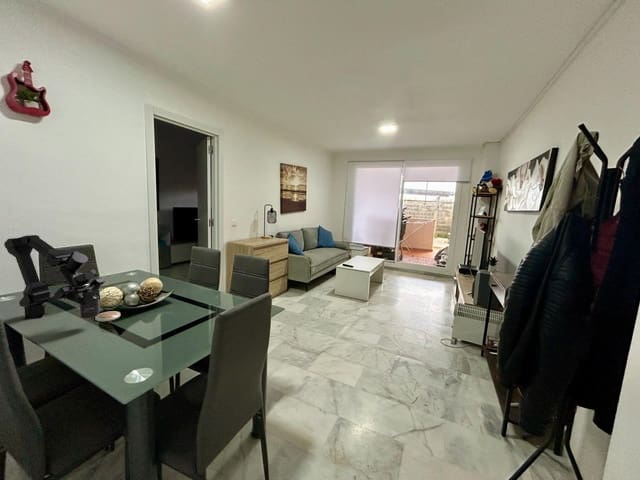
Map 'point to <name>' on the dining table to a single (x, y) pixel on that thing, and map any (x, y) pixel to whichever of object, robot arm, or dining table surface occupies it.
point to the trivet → (107, 316)
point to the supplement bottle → (89, 304)
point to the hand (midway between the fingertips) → (92, 302)
